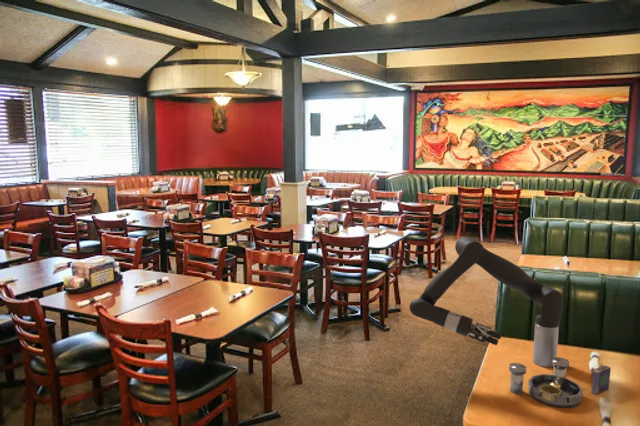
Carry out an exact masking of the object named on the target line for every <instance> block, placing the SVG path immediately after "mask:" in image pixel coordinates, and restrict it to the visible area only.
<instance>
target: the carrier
mask: <svg viewBox="0 0 640 426" xmlns="http://www.w3.org/2000/svg"><path fill="white" fill-rule="evenodd" d="M552 365H553V369H552V370H553V373H552V374H546V373H543V374H542V373H541V374H536V375H532V376H531V377H530V378H529V379H528V384H527V385H528V394H529V395H530V396H531V398H532V399H534V400H535V401H537V402H539V403H540V404H543V405H546V406H548V407H554V408H560V409H562V408H563V409H570V408H572V409H573V408H575V407H578V406H580V405H581V404H582V397H583V394H584V390H583V388H582V386H581V385H580V384H579V383H578V382H576V381H574V380H572V379H571V378H567V369H569V368H570V361H569V360H568V359H567V358H564V357H558V356H557V357H555V358H552Z"/></svg>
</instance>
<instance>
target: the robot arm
mask: <svg viewBox="0 0 640 426" xmlns="http://www.w3.org/2000/svg"><path fill="white" fill-rule="evenodd" d="M454 247H455V251H456V254H457V256H458V257H457V258H456V260H455V261H454V262H453V263H451V265H449V266H448V267H447V268H445V269H443V270H442V271H440V272H439V273H437V275H435V276H434V277H433V278H432V280H431V281H429V283H428V284H427V285H426V287H425V288H424V290H423V292H422V294H421V295H420V296H419V297H418V298H417V299H414V300H412V301H411V302H410V303H409V311H410V314H411V315H413V316H415V317H417V318H420V319H422V320H423V319H424V320H426V321H428V322H429V321H430V322H432V323H433V324H435V325H438V326H440V327H442V328H445V329H446V330H448V331H451V332H453V333H456V334H457V335H458V334H459V335H460V336H463V337H469V338H471V339H473V340H476V341H478V342H480V343H483V344H484V343H488V344H491V345H494V346H497V345H498V344H499V340H501V339H502V338H501V337H502V334H501V333H500V332H497V331H495V330H493V329H492V327H490V326H488V325H484V324H481V323H479V322H476V324H473V323H474V321H473V320H474V319H473V318H471V317H469V316H466V315H464V314H461V313H458V312H455V311H452V310H449V309H446V308H443V307H441V306H437V305H436V303H437V302H438V301H439V299H440V298H441V297H443V295H444V294H445V293H446V291H448V290H449V288H450V287H451V286H452V285H453V284H454V283H455V282H456V281H457V280H458V279H459V278H460V277H461V276H463V275H464V274H465V273H466V272H467V271H469V269H470V268H471V267H473V266H474V265H477V266H479V267H481V268H482V269H483V270H484V271H485V272H487V273H488V274H489V275H490V276H492V277H493V278H494V279H496V280H497V281H499V282H500V283H502V284H503V285H505V286H506V287H509V288H511V289H512V290H515V291H518V292H521V293H522V294H524V295H525V296H526V297H528V298H529V299H530V300H531V301H533V302H534V303H535V304H536V305H538V306H539V307H541V312H540V314H538V315H536V316H535V319H534V337H533V351H532V362H533V363H534V364H536V365H537V366H540V367H546V368H552V367H553V368H554V366H553V365H552V358H555V357H558V344H559V328H560V322H561V320H562V315H563V309H564V298H563V297H564V296H563V294H562V293H561V292H560V291H559V290H558V289H555V288H553V287H552V286H550V285H546V284H544V283H542V282H539V281H537V280H535V279H533V278H532V277H531V276H529V274H528V273H527V272H526V271H524V270H523V269H522V268H521V267H519V266H518V265H516V264H514V263H513V262H511V261H510V260H508V259H506V258H504V257H502V256H500V255H498V254H496V253H494V252H491V251H490V250H488V249H487V248H485V247H484V245H483V244H482V243H481V242H479V241H478V240H476V239H475V238H473V237H470V236H463V237H460V238H458V239H457V241H456V242H455V245H454Z"/></svg>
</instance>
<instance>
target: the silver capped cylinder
mask: <svg viewBox="0 0 640 426" xmlns="http://www.w3.org/2000/svg"><path fill="white" fill-rule="evenodd" d="M508 371H509V372H510V387H509V388H510V389H509V390H510V392H511V393H512V394H515V395H522V394H523V392H524V391H523V390H524V375H525V374H527V366H526V365H524V364H523V363H518V362H513V363H512V362H511V363H510V364H509V366H508Z"/></svg>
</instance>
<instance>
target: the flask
mask: <svg viewBox="0 0 640 426" xmlns="http://www.w3.org/2000/svg"><path fill="white" fill-rule="evenodd" d="M598 365H599V366H598V367H597V368H595V369H594V370H593V371H592V372H593V373H592V385H591V394H593V395H596V396H597V395H600V394H602V393H604V392H606V391H609V389H610V388H609V387H610V379H611V378H610V376H611V369H612V368H611V367H610V366H608V365H604V364H603V363H598Z"/></svg>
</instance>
